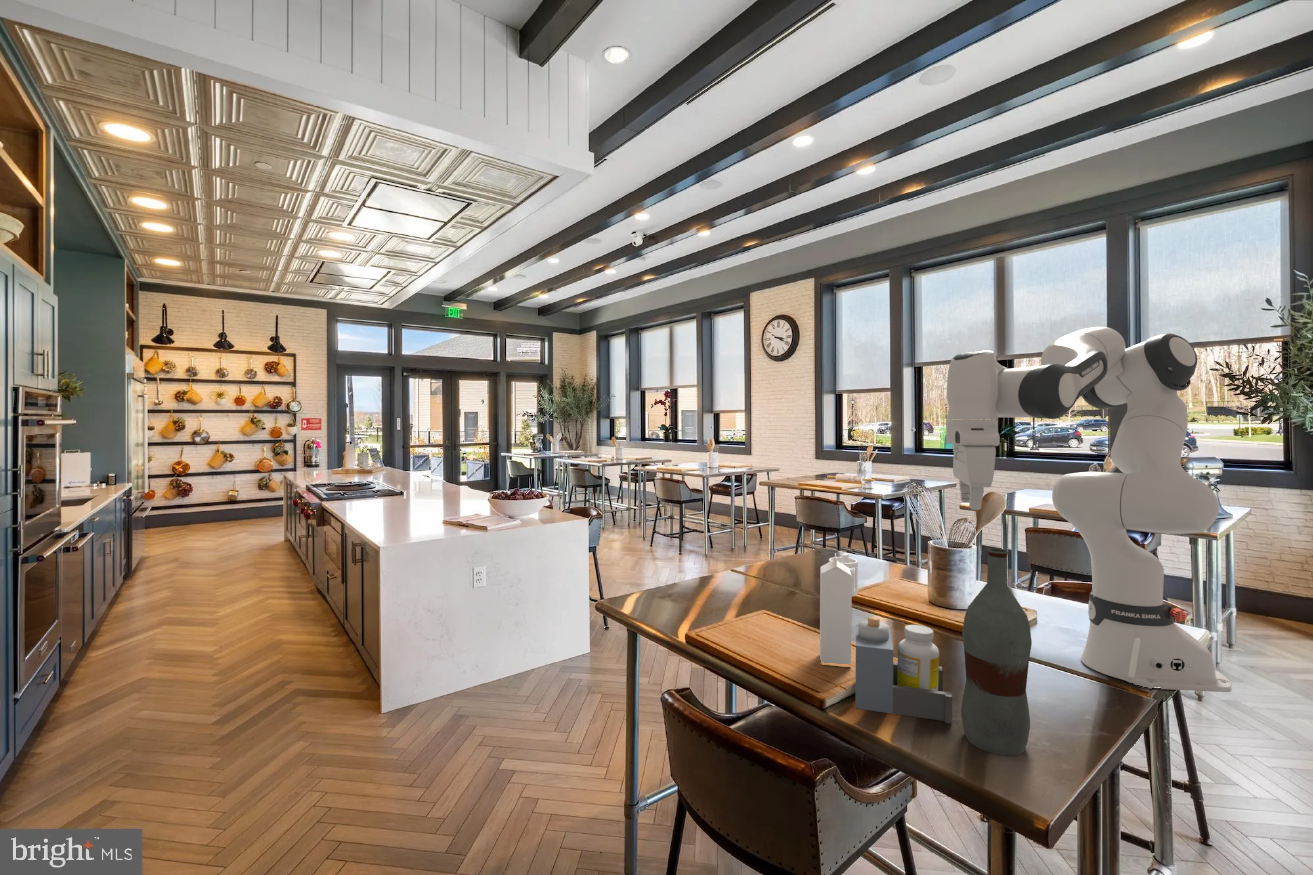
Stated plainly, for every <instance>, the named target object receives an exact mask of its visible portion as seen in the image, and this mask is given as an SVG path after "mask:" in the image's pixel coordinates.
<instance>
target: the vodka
mask: <svg viewBox="0 0 1313 875" xmlns="http://www.w3.org/2000/svg"><path fill="white" fill-rule="evenodd" d="M1008 553H1009V551H1008V550H1006V549H1003V548H996V547H995V548H994V547H992V548H988V549H987V571H986V572H987V573H986V574H987V575H986V576H987V578H986V584H985V585H984V586H983V587H982V589H981V590H980V591H979V593H978V594H977V595H976V596H975V597H974V599H973V600H972V601H971V602H970V604H969V605H968V606H967V609H966V611H965V614H964V618H963V619H964V620H963V624H962V632H961V635H962V641H963V642H962V643H963V653H964V667H965V668H964V669H965V685H964V689H963V695H962V702H961V708H960V712H961V720H962V721H961V723H962V727H963V732H964V734H965V737H966V740H967V741H968V742H969V743H970V744H971V745H973V746H974V747H976V748H978V749H980V750H981V751H985V752H988V753H991V754H995V755H1000V756H1007V757H1008V756H1019V755H1022V754H1023V753H1024V752H1025V749H1026V747H1027V745H1028V742H1029V735H1030V729H1031V719H1030V718H1031V716H1030V708H1029V702H1028V695H1027V683H1028V673H1029V665H1030V656H1031V650H1032V633H1031V625H1030V621H1029V618H1028V615H1027V613H1026V611H1025V610H1024V608H1023V607H1022V606H1021V604H1020V602H1019V601H1018V599H1017V598H1016V596H1015V595H1014V592H1012V590H1011V589H1010V587H1009V586H1008Z"/></svg>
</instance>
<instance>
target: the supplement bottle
mask: <svg viewBox="0 0 1313 875" xmlns="http://www.w3.org/2000/svg"><path fill="white" fill-rule="evenodd" d="M903 634H904V635H905V636H904V637H905V638H904V639H902V640H900V642H898V647H897V663H898V673H897V686H904V687H912V688H919V689H927V690H935V691H938V672H939V667H940V664H939V663H940V651H939V650H940V649H939V648H938V647H937V645H935V643H933V639H934V630H933V629H932V628H930V627H928V626H925V625H919V624H908V625H905V626H904V633H903Z"/></svg>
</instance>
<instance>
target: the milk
mask: <svg viewBox="0 0 1313 875" xmlns="http://www.w3.org/2000/svg"><path fill="white" fill-rule="evenodd" d="M834 557H835V560H833V561H831V562H829V561H828V562H827V563H825V564H823V565H821V566H820V569H819V572H820V575H819V578H820V579H819V583H820V585H819V587H820V588H819V658H820V659H819V660H821V662H824V663H835V664H836V663H837V664H851V665H852V624H853V623H852V621H853V620H852V619H853V618H852V612H853V606H852V605H853V604H852V603H853V601H852V598H853V596H852V575H851V571H850V570H851V568H848V567H847V566H845V565H843V564H842V563H843V562H839V561H837V558H836V557H837V553H836V552H834Z"/></svg>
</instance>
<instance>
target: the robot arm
mask: <svg viewBox="0 0 1313 875" xmlns="http://www.w3.org/2000/svg"><path fill="white" fill-rule="evenodd" d="M1197 366H1198V355H1197V353H1196V351H1195V348H1194V347H1193V345H1192V344H1191V343H1190V342H1189V341H1188V340H1187V339H1186V338H1184V337H1183V336H1180V335H1177V334H1175V333H1163V334H1158V335H1155V336H1152V337H1150V338H1148V339H1146V340H1145V341H1142V342H1140V343H1137V344H1134V345H1131V346H1130V347H1127V348H1126V342H1125V339H1124V337H1123V336H1122V334H1121V333H1120V332H1118V331H1117V330H1116V329H1113V328H1111V327H1107V326H1093V327H1087V328H1083V329H1080V330H1077V331H1073V332H1071V333H1068V334H1066V335H1064V336H1062V337H1061V336H1060V337H1059V338H1057V339H1056V340H1054V341H1053V342H1051V343H1049V344H1048V346H1047V347H1045V348H1044V350H1043V352H1042V355H1041V358H1040V366H1027V367H1025V366H1024V367H1015V368H1007V367H1005V366H1003V365H1001V364H1000V363H999V361H997V357H996V353H995V351H992V350H990V349H989V350H985V349H984V350H983V349H982V350H973V351H970V352H969V351H968V352H962V353H958V354H956V355H955V356H954V357H952V358H951V360H950V363H949V367H948V370H947V371H948V372H947V380H946V399H947V403H948V410H947V411H948V412H947V414H946V423H945V424H946V426H945V427H946V428H945V430H946V432H945V435H946V436H945V437H946V440H945V442H946V444H952V445H953V448H952V451H953V459H952V460H953V462H952V464H953V465H952V474H953V477H954V478H956V479H958V480H959V481H958V484H959V491H960V501H961V502H962V503H966V504H967V503H968V504H969V505H968V506H969V508H970V509H971V510H974V511H977V510H978V511H980V510H981V509H982V500H983V496H984V490H985V488H990V487H992V484H993V481H994V474H995V465H996V453H997V451H996V449H997V448H996V447H998V446H1000V439H1001V437H1000V433H999V418H1036V419H1046V420H1047V419H1049V420H1056V419H1059V418H1062V417H1064V416H1065V415H1066V414H1067V413H1068V412H1069V411H1070V410H1071V409H1072V408H1073V407H1074V405H1075V404H1076V402H1077V400H1078V399H1080V397H1081V398H1082V400H1084V401H1085V403H1087V404H1088V405H1089V406H1090V407H1093V408H1095V409H1097V410H1109V409H1115V408H1118V407H1120V406H1122V405H1123V404H1124V405H1125V404H1126V405H1127V411H1126V413H1125V415H1124V417H1123V418H1122V420H1121V422H1120V424H1119V427H1118V430H1117V432H1116V436H1115V438H1114V441H1113V444H1112V446H1111V449H1110V458H1111V461H1112V463H1113V464H1114V465H1115V467H1116V468H1117V469H1118V471H1120V472H1109V471H1108V472H1107V471H1105V472H1104V471H1090V470H1089V471H1081V472H1073V473H1066V474H1063V475H1062V476H1061V477H1060V478H1059V479H1058V480H1057V481H1056V483H1055V484H1054V487H1053V489H1052V494H1051V496H1052V497H1051V500H1052V504H1053V506H1054V508H1055V510H1056V512H1057V513H1058V514H1059V516H1061V517H1062V518H1063V519H1065V520H1066V521H1067V522H1068V523H1070V525H1072V526H1073V527H1074V528H1075V530H1077V532H1078V533H1079V534H1080V536H1081V537H1082V539H1083V541H1084V542H1085V544H1086V545H1085V546H1087V549H1088V552H1089V555H1090V563H1091V575H1092V576H1091V578H1092V579H1091V580H1092V581H1091V582H1092V583H1091V584H1092V586H1091V587H1092V589H1091V592H1089V598H1088V599H1089V600H1088V603H1087V604H1088V608H1087V609H1088V611H1087V612H1088V619H1089V622H1090V623H1089V630H1088V633H1087V637H1086V638H1087V639H1086V642H1085V646H1084V649H1083V652H1082V654H1081V656H1080V661H1081V662H1082V664H1084V665H1085V666H1087V667H1088V668H1090V669H1092V670H1094V671H1096V672H1099V673H1100V674H1104V675H1107V676H1109V677H1113V678H1115V679H1120V680H1122V681H1126V682H1128V683H1130V684H1132V683H1133V684H1132V685H1135V686H1137V685H1140V686H1143V687H1142V688H1144V687H1161V689H1160V690H1173V691H1174V690H1176V691H1178V690H1179V691H1196V692H1197V691H1198V692H1215V693H1231V692H1232V690H1233V689H1232V683H1231V681H1230V680H1229V679H1228V678H1227V677H1226V676H1224V674H1223V673H1221V672H1220V671H1218V670H1217V669H1216V667H1215V663H1214V659H1213V656H1212V653H1211V652H1210V650H1209V649H1208V648H1207V646H1205V645H1204V644H1203V643H1202V642H1200V641H1199V640H1198V639H1196V638H1195V637H1194V636H1193V635H1191V634H1190V633H1189V632H1187V631H1186V630H1185V629H1183V628H1182V627H1180V626H1179V625H1178V624H1176V623H1175V621H1174V620H1176V621H1178V622H1184V621H1186V620H1187V618H1188V614H1187V612H1186V611H1183V610H1182V609H1180V608H1177V607H1173V606H1171V605H1170V604H1168V603H1166V602H1165V601H1164V582H1165V580H1164V578H1165V577H1164V576H1165V569H1164V566H1163V563H1162V562H1161V561H1160V559H1159V558H1158V557H1157V556H1156V555H1154V554H1153V553H1151V551H1148V550H1146V549H1145V548H1143V547H1141V546H1139V545H1137V544H1136V543H1134V541H1133V540H1131V538H1130V537H1129V535H1128V533H1127V530H1134V531H1140V532H1141V531H1142V532H1151V533H1158V534H1159V533H1160V534H1167V535H1181V534H1184V535H1185V534H1202V533H1203V532H1205V531H1207V530H1208V529H1209V528H1210V527H1211V526H1212V525H1213V524H1214V523H1215V521H1216V520H1217V518H1218V515H1219V509H1220V507H1219V505H1220V504H1219V500H1218V497H1217V496H1216V494H1215V492H1214V491H1213V490H1212V487H1210V486H1209V485H1208V484H1207V483H1205V482H1203V481H1201V480H1199V479H1197V478H1195V477H1193V476H1191V474H1190V473H1188V472H1187V471H1185V469H1184V468H1183V466H1182V464H1181V463H1182V462H1181V460H1182V453H1183V448H1184V443H1185V441H1186V438H1187V432H1188V422H1189V416H1188V415H1189V414H1188V408H1187V405H1186V403H1185V402H1184V401H1183V400H1182V398H1180V397H1179V395H1178V391H1184V390H1186V389H1188V387H1190V386H1191V384H1192V382H1191V378H1192V377H1193V376H1194V375H1195V372H1196V368H1197ZM1190 665H1191V666H1190ZM1185 676H1186V677H1185ZM1140 686H1139V687H1140Z"/></svg>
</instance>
